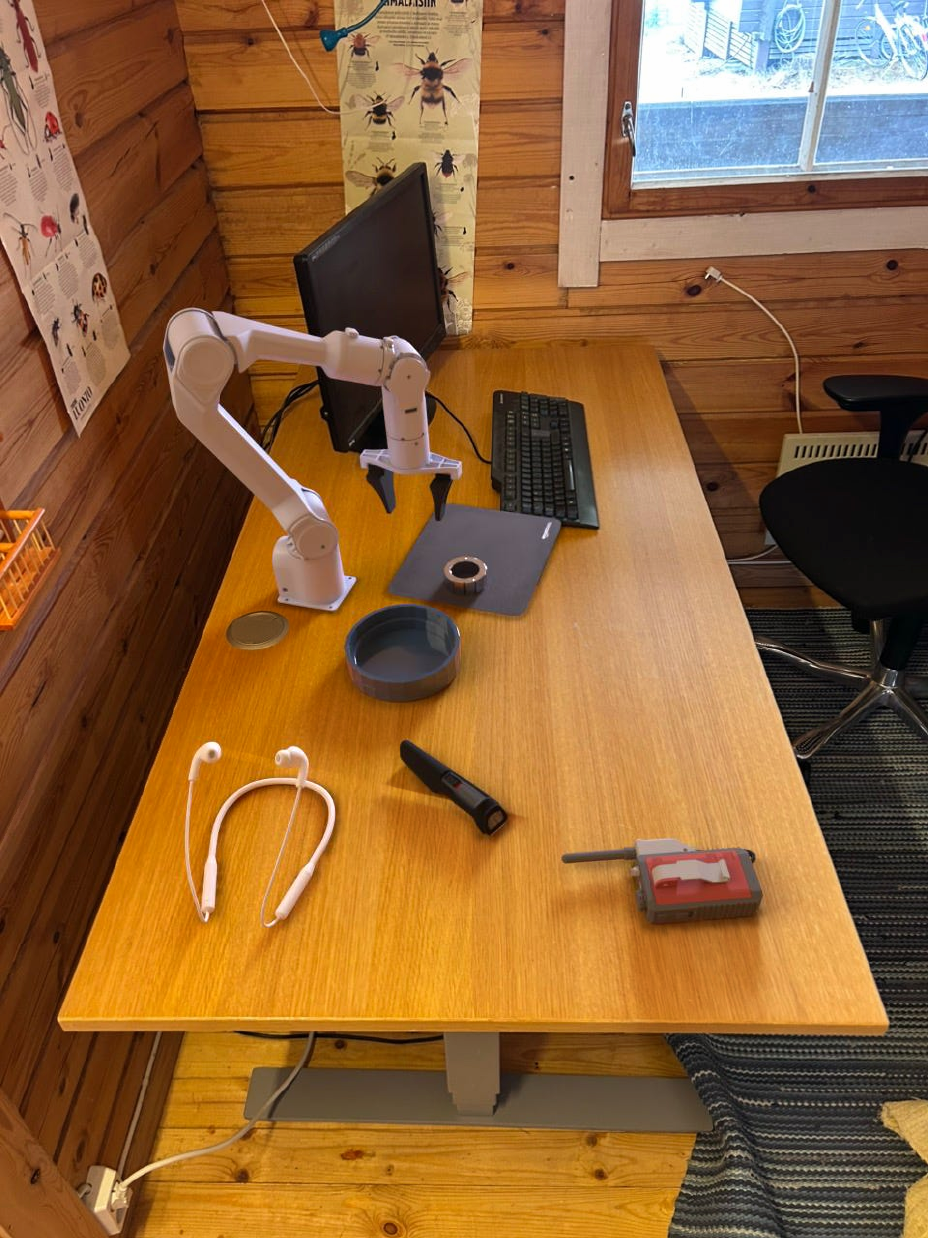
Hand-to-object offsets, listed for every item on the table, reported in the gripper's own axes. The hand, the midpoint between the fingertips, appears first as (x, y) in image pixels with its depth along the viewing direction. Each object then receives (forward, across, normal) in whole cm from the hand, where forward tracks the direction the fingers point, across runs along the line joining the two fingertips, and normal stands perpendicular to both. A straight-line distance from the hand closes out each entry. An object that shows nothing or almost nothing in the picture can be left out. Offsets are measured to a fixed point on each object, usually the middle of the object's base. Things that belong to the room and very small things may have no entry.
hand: (415, 513), depth 126 cm
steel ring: (+9, -8, +3) cm, 13 cm away
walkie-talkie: (+10, -43, +45) cm, 63 cm away
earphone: (+10, -1, +53) cm, 54 cm away
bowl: (+9, -5, +21) cm, 24 cm away
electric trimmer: (+10, -18, +40) cm, 45 cm away
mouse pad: (+9, -8, -4) cm, 13 cm away
